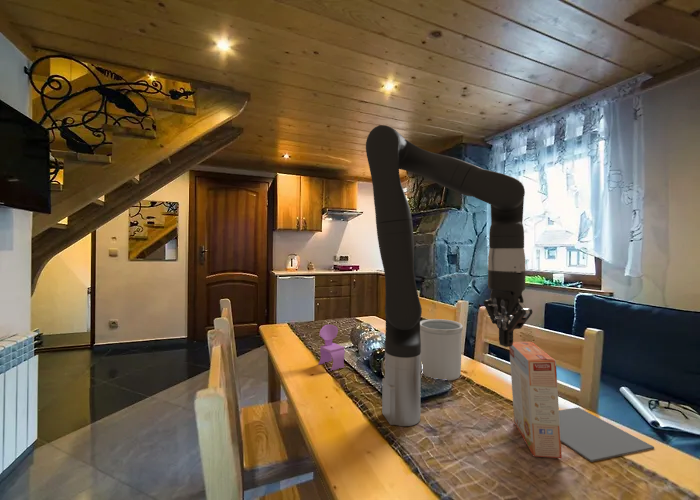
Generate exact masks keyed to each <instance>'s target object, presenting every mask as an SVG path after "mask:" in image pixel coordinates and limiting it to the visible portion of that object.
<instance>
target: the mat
mask: <svg viewBox="0 0 700 500" xmlns="http://www.w3.org/2000/svg"><path fill="white" fill-rule="evenodd" d="M559 421H560V438H561V444H564V445H565V446H567V447H568V448H569V449H571V450H572V451H574V452H575V453H577V454H579V455H580V456H582V457H583V458H585V459H586V460H587V461H589V462H590V463H593V462H598V461H601V460H607V459H612V458H617V457H620V456H626V455H630V454H631V455H632V454H635V453H641V452H645V451H648V450H654V449H655V446H654V445H652V444H650V443H647V442H646V441H644V440H642V439H640V438H638V437H636V436H634V435H633V434H631V433H628V432H627V431H624V430H623V429H621V428H619V427H617V426H615V425H613V424H611V423H609V422H608V421H606V420H603V419H602V418H599V416H596V415H594V414H592V413H589V412H588V411H586V410H584V409H583V408H580V407H573V408H565V409H559Z"/></svg>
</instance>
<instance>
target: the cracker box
mask: <svg viewBox="0 0 700 500" xmlns="http://www.w3.org/2000/svg"><path fill="white" fill-rule="evenodd" d="M508 348H509V361H510V363H509V364H510V377H511V378H510V379H511V393H512V409H513V410H512V411H513V412H512V413H513V422H514V425H515V426H516V428H517V430H518V431H519V433H520V436H521V438H523V441H524V443H525V444H526V446H527V448H528V450H529V452H530V453H531V455H532V456H533V457H534V458H535V457H538V458H551V459H552V458H553V459H562V456H563V455H562V442H561V438H560V421H559V410H560V409H559V408H560V407H559V393H558V377H557V374H558V373H557V360H556V359H555V358H553V356H550V355H549V354H548V353H546V351H544V350H543V349H542V348H540V347H539V346H538V345H537V344H535V343H534V342H532V341H513V344H512V346H511V347H508Z"/></svg>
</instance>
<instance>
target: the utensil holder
mask: <svg viewBox="0 0 700 500" xmlns="http://www.w3.org/2000/svg"><path fill="white" fill-rule="evenodd" d="M463 330H464V326H463V324H462V323H461V322H458V321H455V320H451V319H450V320H449V319H442V318H441V319H440V318H431V319H423V320H420V338H421V361H422V364H423V374H424V375H423V374H422V375H423V376H425V377H427V376H428V377H427V378H429V377H432V378H438V379H447V380H448V381H454V380H457V379H458V378H460V377H461V372H462V370H461V369H462V345H463V344H462V341H463V339H462V338H463V336H462V335H463V333H462V332H463ZM432 378H431V379H432Z"/></svg>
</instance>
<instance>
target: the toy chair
mask: <svg viewBox="0 0 700 500" xmlns="http://www.w3.org/2000/svg"><path fill="white" fill-rule="evenodd" d="M338 332H339V328H338V326H336V325H333V324H331V323H330V324H325V325H323V326H322V328H321V329H320V331H319V333H318V334H319V337H320V338H321V339H322V340H324V345H320V348H319V351H320V359H319V361H318V364H317V365H323V364H326V363H325V362H327V363H329V361H330V362H332V366H331V368H330V372H333V371H336V370H339V368H340V369H343V368H345V363H344V362H345V361H344V358H345V353H346V350H345V346H342V345H339V344H338V343H336V342H333V340H334V339H336V338H337V336H338ZM332 370H333V371H332Z"/></svg>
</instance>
